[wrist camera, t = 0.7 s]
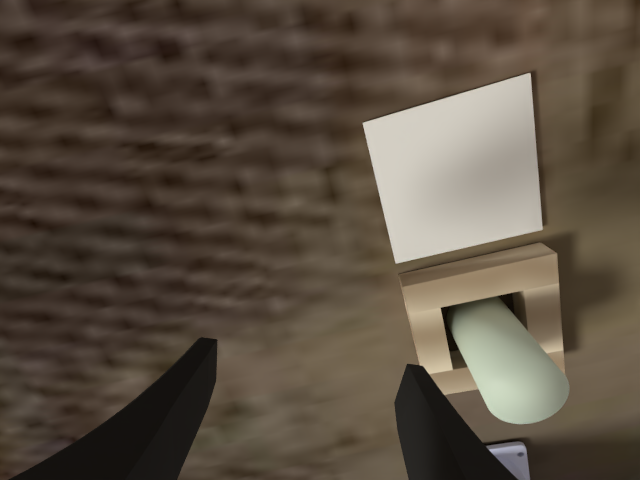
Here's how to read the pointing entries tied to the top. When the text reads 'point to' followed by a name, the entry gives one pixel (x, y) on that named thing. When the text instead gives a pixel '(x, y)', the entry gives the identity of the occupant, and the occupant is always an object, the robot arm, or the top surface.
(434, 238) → the pad
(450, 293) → the pocket holder
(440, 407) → the robot arm
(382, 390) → the top surface
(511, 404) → the sage peg
